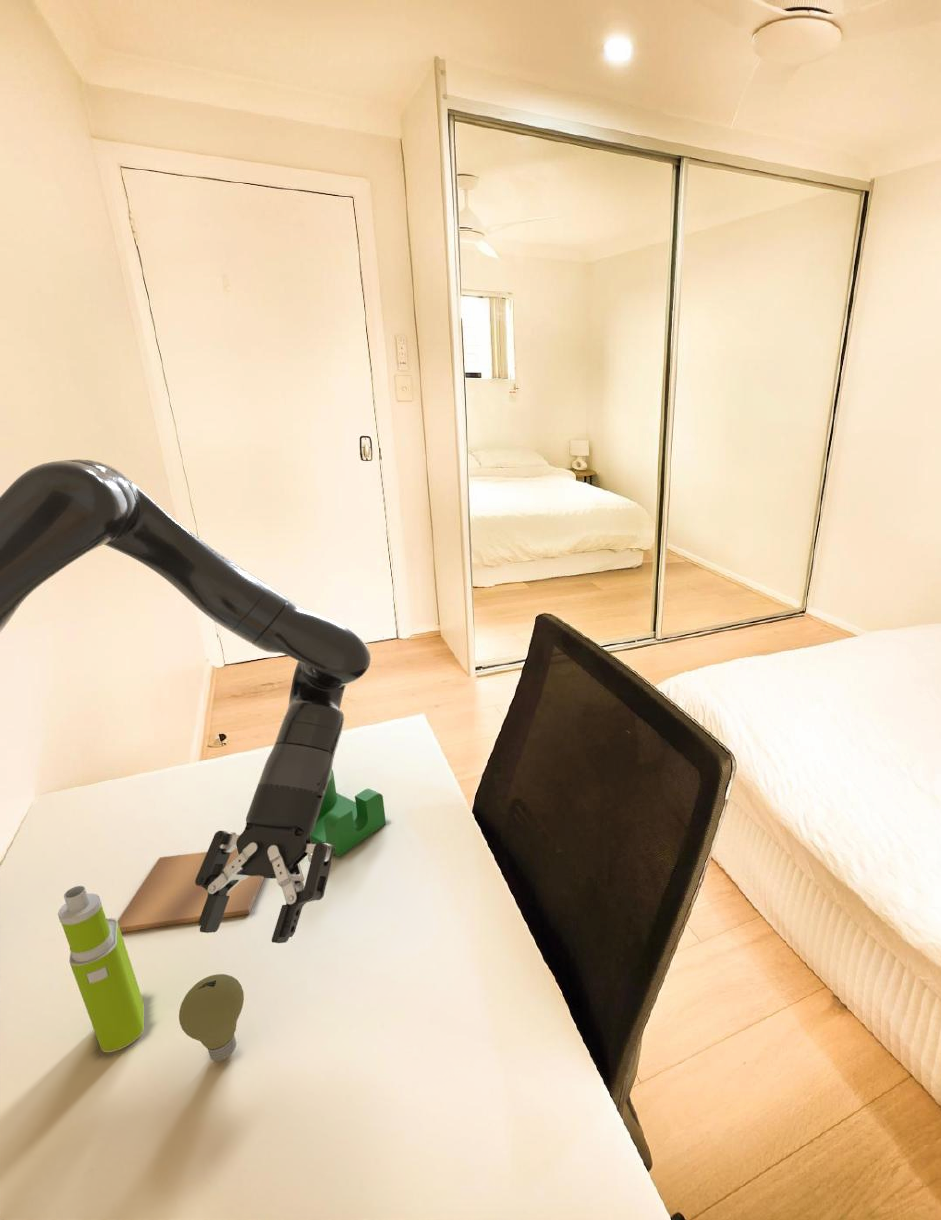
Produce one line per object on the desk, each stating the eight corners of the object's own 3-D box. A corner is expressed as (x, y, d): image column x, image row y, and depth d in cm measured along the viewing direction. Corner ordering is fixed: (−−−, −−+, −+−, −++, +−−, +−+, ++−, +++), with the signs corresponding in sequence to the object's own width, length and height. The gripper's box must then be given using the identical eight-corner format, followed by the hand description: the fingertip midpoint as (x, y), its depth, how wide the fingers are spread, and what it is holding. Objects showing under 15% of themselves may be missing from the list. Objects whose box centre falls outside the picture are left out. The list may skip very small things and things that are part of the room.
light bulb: (246, 1017, 68) (230, 951, 65) (261, 1054, 64) (245, 986, 61) (188, 1052, 64) (168, 984, 61) (200, 1093, 61) (180, 1023, 57)
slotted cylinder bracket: (267, 816, 100) (261, 783, 98) (315, 788, 107) (310, 757, 105) (339, 856, 92) (333, 822, 90) (385, 823, 99) (382, 790, 97)
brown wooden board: (113, 933, 78) (112, 928, 78) (160, 861, 90) (159, 857, 90) (249, 914, 81) (248, 909, 81) (277, 847, 93) (276, 843, 93)
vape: (100, 1059, 63) (46, 914, 57) (103, 1014, 68) (54, 874, 61) (144, 1039, 65) (97, 896, 59) (144, 996, 70) (100, 859, 63)
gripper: (218, 775, 70) (159, 930, 63) (332, 787, 69) (284, 948, 62) (257, 786, 77) (207, 927, 70) (361, 797, 75) (321, 943, 69)
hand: (243, 937), depth 66 cm, fingers open, 8 cm apart
